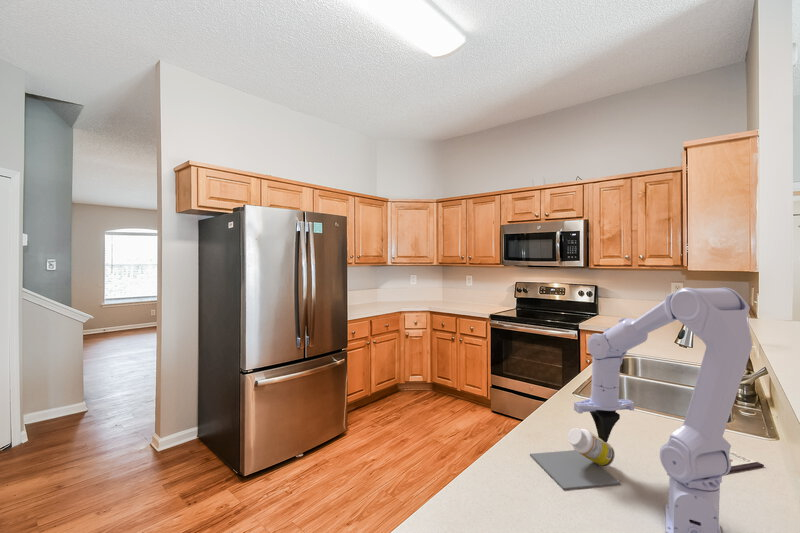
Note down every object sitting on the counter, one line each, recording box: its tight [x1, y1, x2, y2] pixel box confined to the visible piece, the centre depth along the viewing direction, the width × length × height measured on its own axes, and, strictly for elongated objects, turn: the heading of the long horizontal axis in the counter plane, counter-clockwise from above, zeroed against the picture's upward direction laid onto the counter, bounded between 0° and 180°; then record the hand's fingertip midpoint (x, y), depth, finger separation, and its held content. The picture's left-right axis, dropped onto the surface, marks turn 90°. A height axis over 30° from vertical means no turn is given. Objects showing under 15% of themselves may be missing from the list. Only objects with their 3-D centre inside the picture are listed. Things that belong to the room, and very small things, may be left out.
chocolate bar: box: [728, 449, 765, 474], centre depth 90 cm, size 9×1×18 cm
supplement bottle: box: [567, 427, 616, 468], centre depth 87 cm, size 6×6×10 cm
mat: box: [529, 449, 621, 491], centre depth 86 cm, size 14×14×1 cm
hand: (602, 440), depth 88 cm, fingers closed, pressing on supplement bottle
